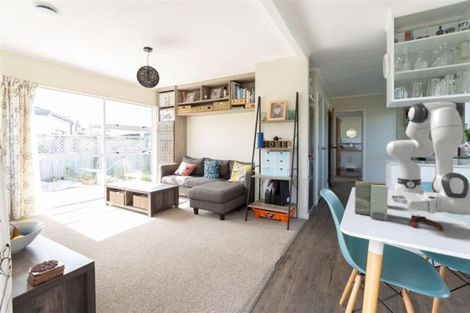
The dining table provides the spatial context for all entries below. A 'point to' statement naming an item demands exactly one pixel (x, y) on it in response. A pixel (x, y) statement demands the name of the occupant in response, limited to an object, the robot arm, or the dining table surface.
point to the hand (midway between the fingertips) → (392, 198)
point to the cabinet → (364, 196)
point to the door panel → (379, 200)
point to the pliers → (423, 219)
